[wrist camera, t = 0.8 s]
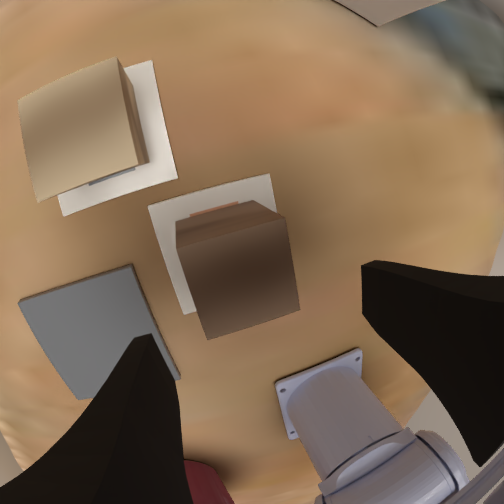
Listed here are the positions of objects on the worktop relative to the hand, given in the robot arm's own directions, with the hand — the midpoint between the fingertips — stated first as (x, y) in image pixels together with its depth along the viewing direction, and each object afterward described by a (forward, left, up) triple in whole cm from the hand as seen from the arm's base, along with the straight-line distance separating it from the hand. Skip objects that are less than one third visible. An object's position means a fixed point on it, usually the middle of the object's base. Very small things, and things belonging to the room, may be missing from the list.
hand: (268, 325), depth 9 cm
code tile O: (+8, +5, -9) cm, 13 cm away
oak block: (+8, +5, -8) cm, 13 cm away
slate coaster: (-4, +10, -9) cm, 14 cm away
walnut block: (0, 0, -8) cm, 8 cm away
